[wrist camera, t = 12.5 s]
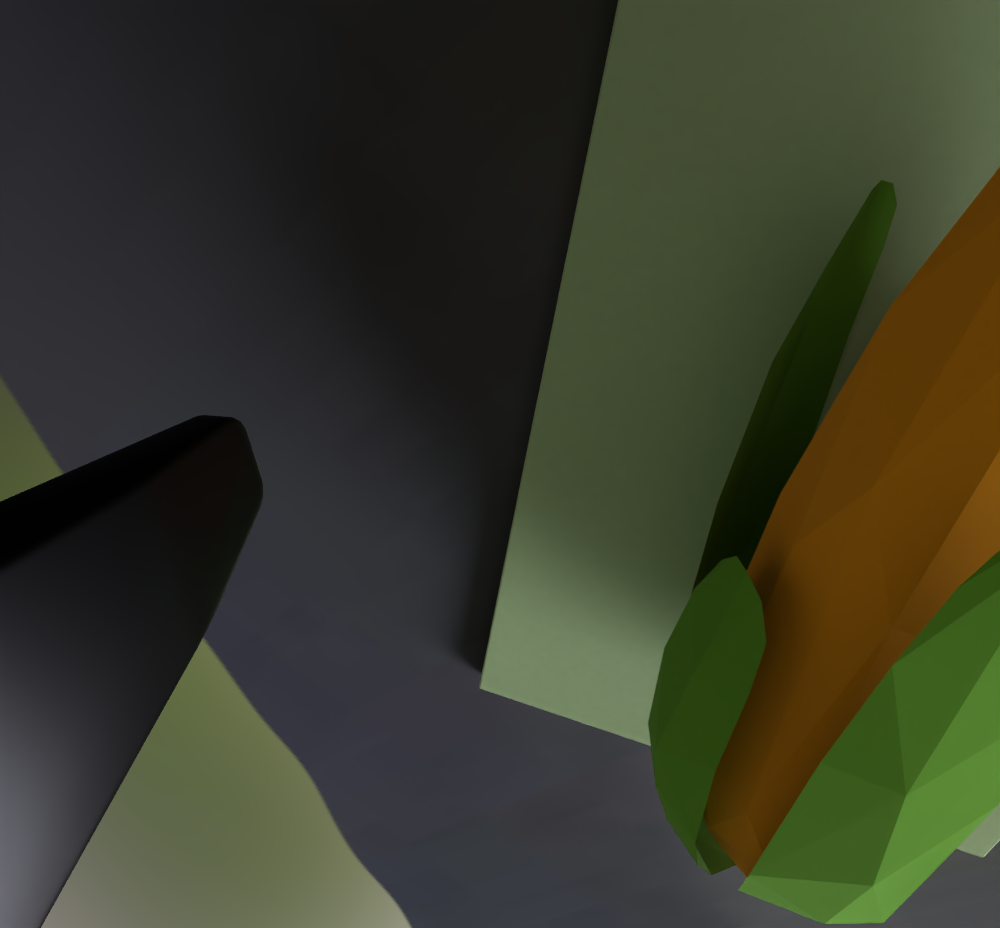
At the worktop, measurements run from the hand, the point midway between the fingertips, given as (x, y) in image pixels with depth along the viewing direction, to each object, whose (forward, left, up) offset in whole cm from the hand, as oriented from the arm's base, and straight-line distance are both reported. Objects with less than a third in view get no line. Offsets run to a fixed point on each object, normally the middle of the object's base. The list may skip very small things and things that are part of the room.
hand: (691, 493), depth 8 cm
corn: (+5, -7, -12) cm, 14 cm away
